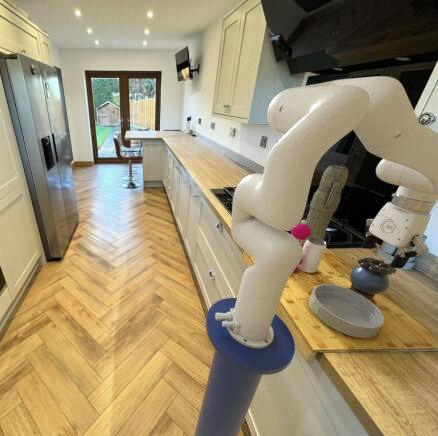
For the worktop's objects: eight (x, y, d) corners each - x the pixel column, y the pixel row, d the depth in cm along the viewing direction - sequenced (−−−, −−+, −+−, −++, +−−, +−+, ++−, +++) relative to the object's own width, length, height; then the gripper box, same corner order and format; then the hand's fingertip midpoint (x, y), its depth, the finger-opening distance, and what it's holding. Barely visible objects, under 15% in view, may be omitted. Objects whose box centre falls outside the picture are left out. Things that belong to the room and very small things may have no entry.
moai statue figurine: (300, 250, 100) (331, 168, 85) (293, 236, 110) (319, 162, 95) (324, 254, 98) (360, 171, 82) (314, 240, 108) (345, 164, 93)
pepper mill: (273, 261, 92) (288, 215, 83) (292, 262, 92) (309, 216, 83) (282, 273, 86) (299, 224, 77) (302, 274, 85) (322, 225, 77)
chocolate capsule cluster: (369, 275, 68) (372, 270, 67) (350, 260, 74) (353, 255, 74) (401, 276, 68) (404, 271, 67) (379, 261, 74) (382, 257, 74)
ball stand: (356, 306, 72) (373, 277, 67) (335, 286, 80) (349, 258, 75) (385, 307, 72) (404, 278, 67) (361, 287, 80) (377, 259, 75)
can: (294, 267, 89) (304, 240, 83) (298, 260, 93) (309, 234, 88) (313, 276, 85) (325, 248, 79) (317, 268, 89) (329, 241, 83)
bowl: (331, 338, 62) (338, 326, 60) (297, 293, 76) (301, 283, 74) (393, 340, 62) (401, 328, 60) (347, 295, 76) (352, 284, 74)
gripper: (369, 192, 70) (345, 241, 77) (432, 216, 54) (395, 275, 61) (394, 193, 70) (368, 242, 77) (465, 218, 54) (423, 277, 61)
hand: (380, 257), depth 69 cm, fingers open, 9 cm apart
